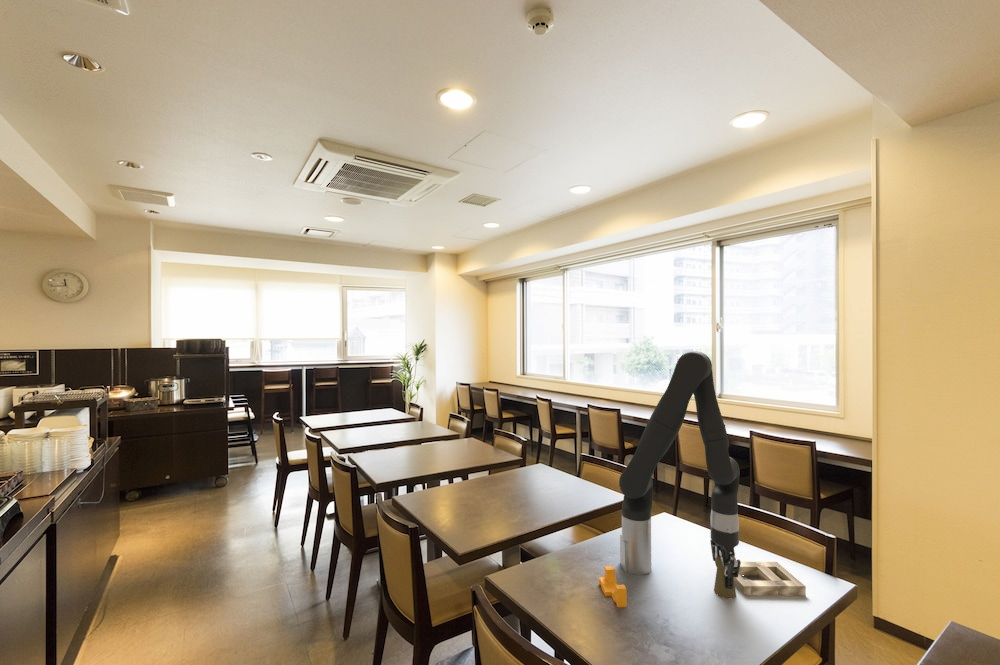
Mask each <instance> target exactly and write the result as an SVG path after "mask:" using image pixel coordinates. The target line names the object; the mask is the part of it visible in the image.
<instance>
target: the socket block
mask: <svg viewBox="0 0 1000 665" xmlns="http://www.w3.org/2000/svg"><path fill="white" fill-rule="evenodd" d="M740 562H741V564H740V569H739V574H738V577H737V578H736V577H734V584H735V588H737V590H738V591H740V592H741V593H742V595H743V596H776V597H777V596H785V597H786V596H788V597H789V596H790V597H792V596H793V597H805V596H807V594H806V588H807V587H806V585H805V584H804V583H802V581H800V580H799V579H798V578H797V577H795V576H794V575H793V574H792V573H791V572H789V570H787V568H785V567H783V566H782V565H781V564H780V563H779V562H778V561H740ZM740 575H744V576H743V577H742V576H740ZM744 578H745V579H748V580H745V579H744Z"/></svg>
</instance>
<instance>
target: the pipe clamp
mask: <svg viewBox="0 0 1000 665" xmlns="http://www.w3.org/2000/svg"><path fill="white" fill-rule="evenodd" d="M598 584H599V586H600V589H601V590H602V592H603V594H604V596H605V597H611V598H612V599H613V600H612V601H613V602H614V603H616V607H617V608H627V606H628V605H627V601H628V599H627V592H628V591H627V590H628V589H627V586H626V585H625V584H618V582H617V577H616V569H615V566H614V565H611V566H610V565H609V566H607V565H606V566H604V576H601V577H598Z"/></svg>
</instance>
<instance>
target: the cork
mask: <svg viewBox="0 0 1000 665" xmlns="http://www.w3.org/2000/svg"><path fill="white" fill-rule="evenodd" d="M714 563H715V566H716V572H715V580H714V588H713V592H714V594H715V595H717V594H718V595H717V596H719V597H722V598H723V597H724V599H728V600H729V598H732V599H735V598H736V597H737V591H736V586H735V584H734V577H733V589H726V588H725V580H724V575H725V574H724V567H723V566H722V562H721V557H720V556H717V557H716V559H715V561H714ZM725 564H726V565H729V563H726V562H725ZM727 571H728V568H727Z"/></svg>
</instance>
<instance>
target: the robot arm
mask: <svg viewBox="0 0 1000 665" xmlns="http://www.w3.org/2000/svg"><path fill="white" fill-rule="evenodd" d="M713 374H714V373H713V362H712V360H711V358H710V357H709V356H708V354H705V353H703V352H701V351H695V350H694V351H687V352H685V353H683V354H681V356H680V357H679V358H678V359H677V361H676V364H675V367H674V369H673V372H672V375H671V378H670V380H669V384H668V385H667V387H666V390H664V393H663V395H662V396H661V398H660V399H659V401H658V403H657V405H656V406H655V408H654V410H653V412H652V414H651V415H650V417H649V419H648V422H646V425H645V428H644V430H643V432H642V434H641V436H640V440H639V442H638V445H637V448H636V450H635V452H634V454H633V456H632V458H631V459H630V461H629V462H628V464H627V465H626V467H625V468H624V470H623V471H622V472H621V474H620V476H619V480H618V484H619V490H620V492H621V493H622V494H623V500H622V504H621V534H620V535H619V552H620V553H619V555H620V557H619V558H620V560H619V562H620V565H621V567H622V570H623V571H624V573H629V574H632V575H636V576H645V575H648V574H650V573H651V572H652V566H653V565H652V509H653V496H654V495H653V487H654V486H653V484H654V482H653V474H654V471H655V470H656V467H657V466H658V465H659V463H660V461H661V459H663V457H664V456H665V454H666V453H667V452H668V451H669V449H670V448H671V446H672V445H673V443H674V441H675V439H676V437H677V436H678V434H679V432H680V431H681V428H682V426H683V424H684V420H685V417H686V414H687V411H688V407H689V404H690V400H691V399H692V396H693V397H694V402H695V408H696V417H697V418H696V419H697V424H698V428H699V432H700V436H701V438H702V439H701V440H702V443H703V446H704V454H705V464H706V469H707V472H708V475H709V477H710V479H711V481H713V483H714V486H713V489H712V491H711V497H710V500H711V501H710V504H711V506H710V507H711V510H710V546H711V555H712V561H713V562H715V559H716V557H717V556H720V557H721V562H722V566H723V567H724V574H725V575H724V580H725V588H726V589H733V577H736V578H737V577H738V574H739V569H740V564H741V562H742V561H741V560H740V559H737V558H736V553H735V548H736V547H737V546H738V545H740V520H739V519H740V518H739V514H738V513H739V507H738V506H739V505H738V504H739V503H738V502H739V501H738V493H739V486H740V477H741V476H740V475H741V474H740V473H741V471H740V466H739V463H738V462H737V461H736V459H735V458H733V457H731V456H730V453H729V447H730V440H729V437H728V433H727V429H726V427H725V426H726V425H725V423H724V419H723V416H722V413H721V409H720V406H719V403H718V398H717V394H716V389H715V383H714V375H713ZM725 562H726V563H729V565H726V564H725ZM727 568H728V571H727Z"/></svg>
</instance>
